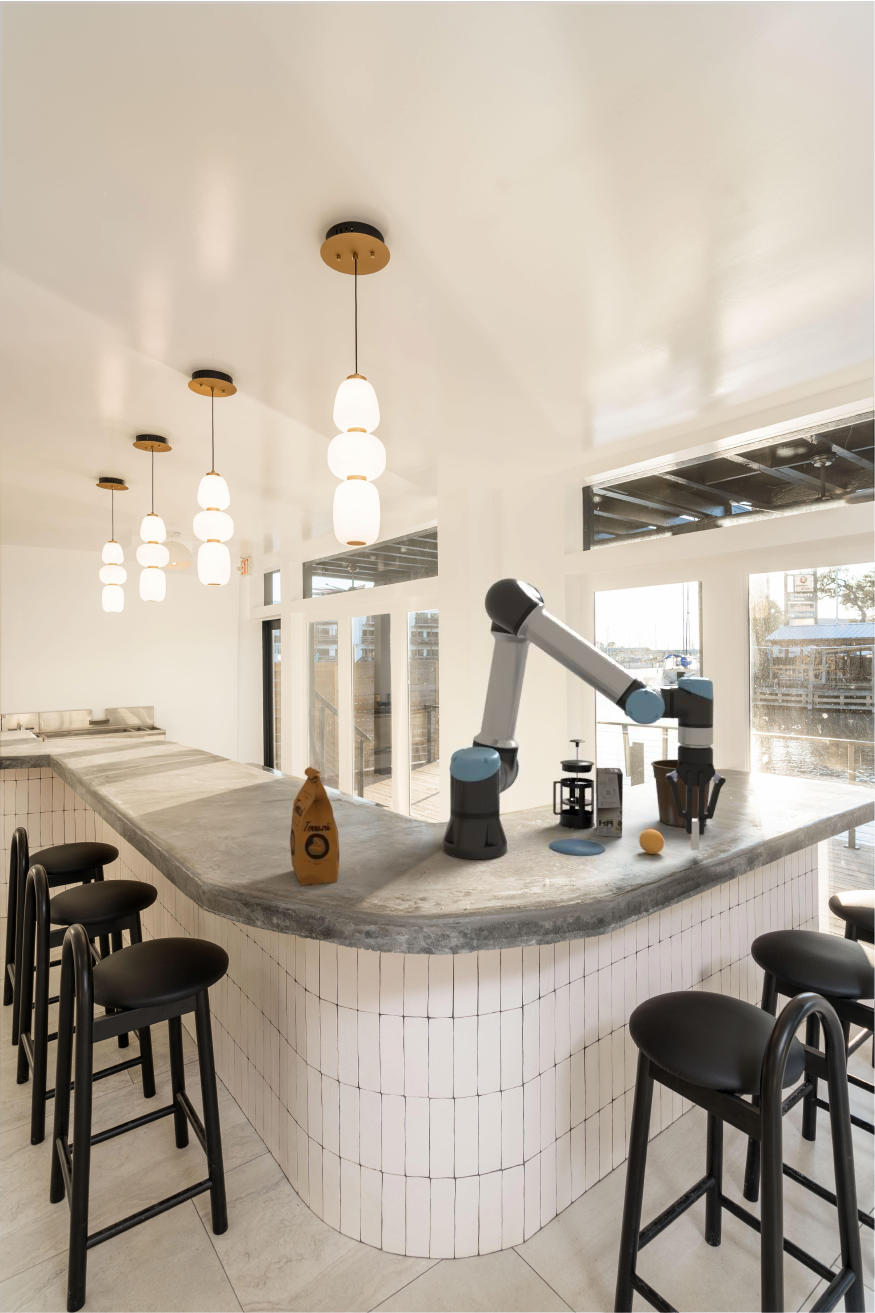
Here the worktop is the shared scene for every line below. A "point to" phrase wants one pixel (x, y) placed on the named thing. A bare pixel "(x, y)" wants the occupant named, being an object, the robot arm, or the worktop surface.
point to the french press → (575, 794)
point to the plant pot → (666, 797)
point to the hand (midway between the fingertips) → (694, 848)
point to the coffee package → (314, 834)
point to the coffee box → (609, 801)
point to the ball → (651, 841)
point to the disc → (577, 847)
